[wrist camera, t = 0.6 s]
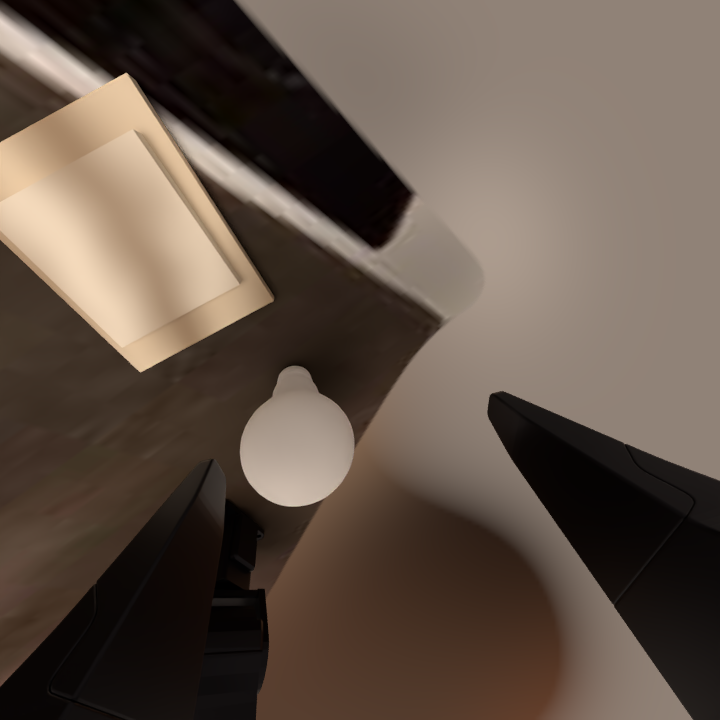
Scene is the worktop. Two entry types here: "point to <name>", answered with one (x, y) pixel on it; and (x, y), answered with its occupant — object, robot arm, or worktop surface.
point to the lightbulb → (296, 443)
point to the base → (124, 226)
